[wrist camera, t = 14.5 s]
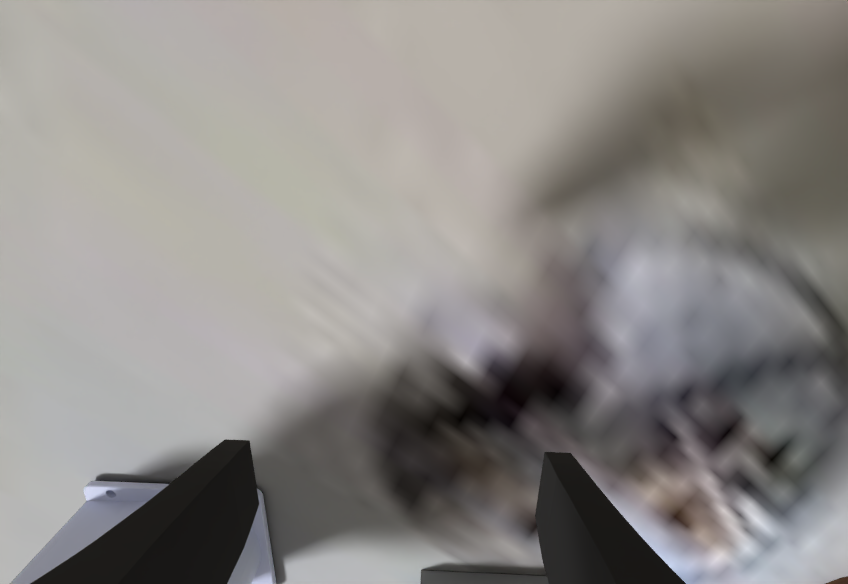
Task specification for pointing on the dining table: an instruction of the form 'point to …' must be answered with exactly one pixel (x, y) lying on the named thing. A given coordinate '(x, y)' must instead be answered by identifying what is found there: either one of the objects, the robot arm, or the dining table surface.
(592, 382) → the dining table surface
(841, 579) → the trivet
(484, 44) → the dining table surface
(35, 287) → the dining table surface
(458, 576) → the box
